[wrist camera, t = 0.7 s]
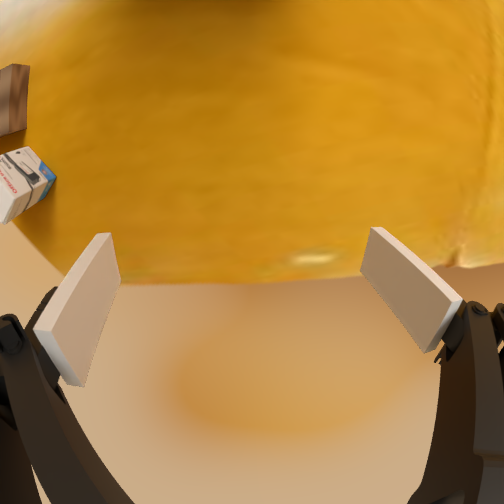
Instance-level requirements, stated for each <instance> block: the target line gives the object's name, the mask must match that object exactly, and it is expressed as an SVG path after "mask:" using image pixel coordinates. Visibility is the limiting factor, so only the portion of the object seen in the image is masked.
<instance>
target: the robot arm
mask: <svg viewBox="0 0 504 504" xmlns="http://www.w3.org/2000/svg"><path fill="white" fill-rule="evenodd" d="M360 272H361V273H362V274H363V275H364V276H365V278H366V279H367V280H368V281H369V282H370V284H371V285H372V286H373V287H374V289H375V290H376V291H377V292H378V294H379V295H380V296H381V297H382V298H383V300H384V301H385V302H386V304H387V305H388V306H389V307H390V309H391V310H392V311H393V313H394V314H395V315H396V317H397V318H398V319H399V320H400V322H401V323H402V324H403V326H404V327H405V328H406V330H407V331H408V332H409V334H410V335H411V337H412V338H413V339H414V341H415V342H416V343H417V345H418V346H419V348H420V349H421V350H422V352H423V353H427V352H430V351H432V350H435V349H436V347H437V345H438V344H439V342H440V341H441V339H442V340H443V341H444V343H445V344H444V346H443V347H442V349H441V350H440V352H439V354H438V355H437V357H436V358H435V360H434V363H436V362H437V360H438V359H439V358H441V361H440V362H439V364H440V365H441V374H440V387H439V398H438V405H437V413H436V420H435V426H434V432H433V437H432V442H431V447H430V452H429V456H428V460H427V464H426V468H425V472H424V476H423V479H422V482H421V484H420V486H419V488H418V489H417V490H416V491H415V492H414V494H413V495H412V496H411V498H410V499H409V501H408V503H407V504H504V346H503V348H502V349H501V351H500V353H498V349H497V348H498V346H499V345H500V343H501V342H502V340H503V341H504V304H502V303H498V304H497V306H496V307H495V309H494V311H493V312H488V310H487V309H486V308H485V307H484V306H483V305H482V304H480V303H478V302H475V301H470V302H468V303H466V302H465V301H464V300H463V299H462V298H461V297H460V296H459V295H458V294H457V293H456V292H455V291H454V290H453V289H452V288H451V287H450V286H449V285H448V284H447V283H446V282H445V281H444V280H443V279H442V278H441V277H439V276H438V275H437V274H436V273H435V272H434V271H433V270H432V269H431V268H430V267H429V266H427V265H426V264H425V263H424V262H423V261H422V260H421V259H420V258H418V257H417V256H416V255H415V254H414V253H413V252H412V251H410V250H409V249H408V248H407V247H406V246H404V245H403V244H402V243H401V242H400V241H398V240H397V239H396V238H395V237H394V236H392V235H391V234H390V233H389V232H387V231H386V230H385V229H384V228H382V227H371V229H370V234H369V238H368V242H367V246H366V250H365V254H364V258H363V262H362V266H361V269H360ZM120 283H121V278H120V273H119V269H118V265H117V260H116V256H115V251H114V246H113V240H112V235H111V233H97V234H96V236H95V237H94V238H93V239H92V241H91V242H90V243H89V245H88V246H87V247H86V249H85V250H84V251H83V253H82V254H81V255H80V257H79V258H78V259H77V261H76V262H75V263H74V265H73V266H72V268H71V269H70V271H69V272H68V273H67V275H66V276H65V278H64V279H63V281H62V282H61V284H60V285H59V287H54V288H53V289H51V290H50V291H49V292H48V293H47V294H46V295H45V297H44V298H43V299H42V301H41V304H39V306H38V308H37V309H36V310H37V311H35V312H34V314H33V315H32V317H31V319H30V320H29V322H28V324H27V326H26V327H25V329H23V328H22V326H21V324H20V322H19V320H18V318H17V316H16V315H14V314H6V315H3V316H1V317H0V504H42V502H41V499H40V496H39V493H38V489H37V486H36V483H35V479H34V475H33V471H32V467H33V469H34V471H35V473H36V475H37V477H38V480H39V482H40V483H41V486H42V488H43V489H44V491H45V493H46V495H47V497H48V498H49V500H50V502H51V504H134V503H133V501H132V500H131V499H130V498H129V496H128V495H127V494H126V493H125V492H124V490H123V489H122V488H121V487H120V485H119V484H118V483H117V482H116V480H115V479H114V478H113V476H112V475H111V473H110V472H109V471H108V469H107V468H106V466H105V465H104V463H103V462H102V461H101V459H100V458H99V456H98V455H97V453H96V452H95V450H94V448H93V447H92V445H91V444H90V442H89V440H88V439H87V437H86V435H85V433H84V432H83V430H82V428H81V426H80V425H79V423H78V421H77V419H76V418H75V415H74V414H73V412H72V410H71V408H70V406H69V404H68V401H67V399H66V397H65V395H64V393H63V391H62V389H61V387H60V386H59V384H58V379H59V376H60V375H61V376H62V378H63V379H64V381H65V382H66V384H67V385H73V386H79V387H84V386H85V383H86V379H87V376H88V372H89V369H90V366H91V362H92V359H93V356H94V353H95V350H96V347H97V344H98V341H99V338H100V335H101V332H102V329H103V327H104V324H105V321H106V318H107V315H108V313H109V311H110V307H111V305H112V302H113V300H114V298H115V295H116V293H117V290H118V288H119V286H120ZM31 465H32V466H31Z"/></svg>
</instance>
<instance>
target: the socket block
mask: <svg viewBox="0 0 504 504" xmlns="http://www.w3.org/2000/svg"><path fill="white" fill-rule="evenodd" d="M29 70H30V66H27V65H20V64H11V65H9V66H7V67H5V68H3V69H1V70H0V137H2V136H5V135H8V134H11V133H14V132H17V131H21V130H24V129H27V93H28V80H29Z"/></svg>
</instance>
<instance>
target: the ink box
mask: <svg viewBox="0 0 504 504" xmlns="http://www.w3.org/2000/svg"><path fill="white" fill-rule="evenodd" d="M55 179H56V176H55V175H54V174H53V173H52V172H51V171H50V169H49V168H48V167H47V166H46V165H45V164H44V163H43V162H42V161H41V160H40V158H39V157H38V156H37V155H36V154H35V153H34V152H33V151H32V149H31V148H30V147H29V146H27V147H23V148H20V149H17V150H14V151H11V152H8V153H4V154H2V155H0V223H3V224H7V223H8V222H9V221H11V220H12V219H14V218H15V217H17V216H18V215H19V214H21V213H22V212H24V211H25V210H27V209H28V208H30V207H31V206H33V205H34V204H36V203H37V202H39V201H40V200H42V199H43V198H45V196H46V194H47V193H48V191H49V189H50V187H51V186H52V184H53V182H54V181H55Z"/></svg>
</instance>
